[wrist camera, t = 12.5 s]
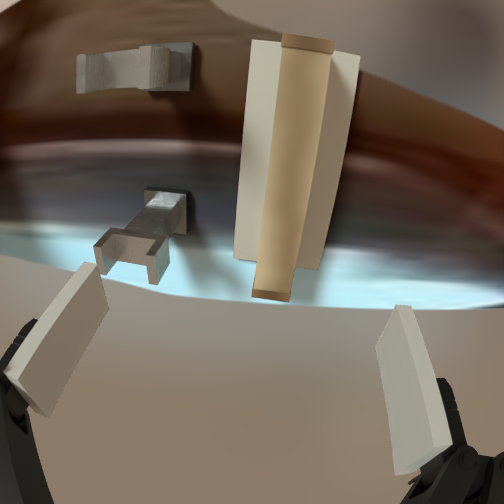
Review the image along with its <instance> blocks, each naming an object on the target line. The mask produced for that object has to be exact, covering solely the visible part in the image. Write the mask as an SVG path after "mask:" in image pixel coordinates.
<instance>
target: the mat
mask: <svg viewBox="0 0 504 504" xmlns="http://www.w3.org/2000/svg"><path fill="white" fill-rule="evenodd" d="M281 55H282V47H281V42H273V41H262V40H252V46H251V56H250V66H249V76H248V86H247V96H246V107H245V118H244V129H243V140H242V152H241V163H240V175H239V187H238V200H237V213H236V226H235V239H234V253H233V258H237V259H244V260H251V261H257V257H258V249H259V241H260V233H261V224H262V216H263V208H264V200H265V192H266V183H267V175H268V166H269V158H270V150H271V141H272V133H273V124H274V116H275V107H276V98H277V90H278V81H279V72H280V64H281ZM359 64H360V56H357V55H353V54H348V53H344V52H339V51H334V52H333V54H332V55H331V62H330V70H329V77H328V85H327V92H326V98H325V105H324V112H323V118H322V125H321V131H320V137H319V143H318V149H317V155H316V161H315V167H314V173H313V178H312V184H311V190H310V195H309V200H308V206H307V211H306V216H305V222H304V227H303V232H302V237H301V242H300V247H299V252H298V257H297V261H296V266H295V267H300V268H307V269H314V270H318V268H319V264H320V260H321V256H322V252H323V248H324V244H325V240H326V236H327V232H328V227H329V223H330V219H331V215H332V210H333V206H334V201H335V197H336V192H337V188H338V183H339V178H340V173H341V168H342V163H343V158H344V153H345V148H346V143H347V137H348V132H349V126H350V121H351V115H352V109H353V103H354V97H355V91H356V84H357V78H358V71H359Z"/></svg>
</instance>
